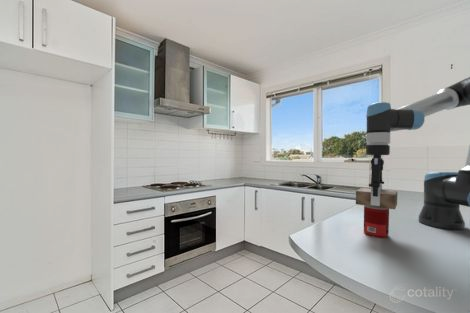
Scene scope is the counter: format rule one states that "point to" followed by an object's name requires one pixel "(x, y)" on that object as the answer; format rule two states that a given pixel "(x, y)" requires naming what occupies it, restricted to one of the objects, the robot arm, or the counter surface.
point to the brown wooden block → (386, 198)
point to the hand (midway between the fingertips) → (376, 202)
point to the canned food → (376, 221)
